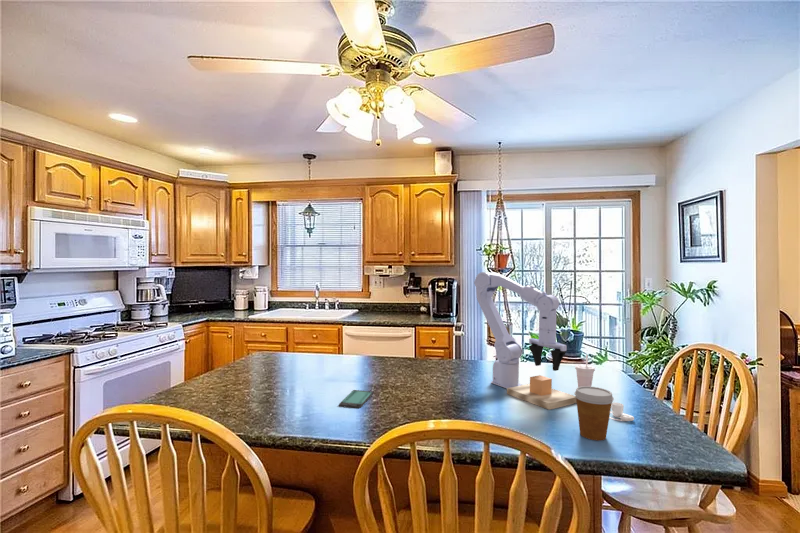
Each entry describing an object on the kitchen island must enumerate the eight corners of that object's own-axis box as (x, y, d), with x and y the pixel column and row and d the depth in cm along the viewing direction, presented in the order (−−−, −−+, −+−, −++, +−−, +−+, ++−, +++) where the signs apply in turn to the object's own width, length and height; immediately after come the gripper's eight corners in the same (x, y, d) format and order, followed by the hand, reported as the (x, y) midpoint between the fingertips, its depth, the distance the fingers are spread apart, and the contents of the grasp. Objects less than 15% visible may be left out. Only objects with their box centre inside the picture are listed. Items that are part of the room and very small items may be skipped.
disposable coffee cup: (567, 428, 114) (568, 385, 114) (599, 428, 115) (600, 385, 115) (585, 443, 105) (586, 396, 105) (620, 443, 106) (621, 396, 106)
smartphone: (338, 403, 129) (353, 389, 143) (338, 407, 129) (353, 392, 143) (361, 405, 127) (373, 390, 142) (361, 409, 127) (373, 394, 142)
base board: (506, 393, 145) (507, 388, 145) (534, 388, 152) (534, 382, 152) (549, 409, 129) (549, 403, 129) (577, 402, 136) (577, 396, 136)
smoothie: (596, 397, 143) (597, 357, 143) (576, 395, 144) (577, 356, 144) (591, 391, 149) (592, 353, 149) (572, 390, 150) (573, 352, 150)
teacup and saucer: (638, 424, 119) (638, 410, 119) (608, 422, 121) (609, 408, 121) (627, 414, 128) (627, 401, 128) (599, 411, 129) (600, 399, 129)
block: (529, 391, 141) (530, 377, 141) (539, 389, 144) (539, 375, 144) (541, 395, 137) (541, 380, 137) (551, 393, 140) (551, 378, 140)
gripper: (523, 327, 149) (522, 364, 149) (557, 333, 137) (556, 374, 137) (536, 325, 153) (536, 362, 153) (570, 331, 140) (570, 371, 140)
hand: (546, 367), depth 145 cm, fingers open, 7 cm apart
